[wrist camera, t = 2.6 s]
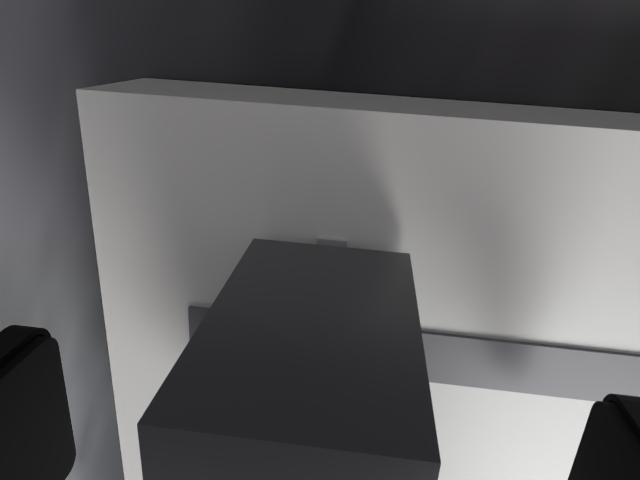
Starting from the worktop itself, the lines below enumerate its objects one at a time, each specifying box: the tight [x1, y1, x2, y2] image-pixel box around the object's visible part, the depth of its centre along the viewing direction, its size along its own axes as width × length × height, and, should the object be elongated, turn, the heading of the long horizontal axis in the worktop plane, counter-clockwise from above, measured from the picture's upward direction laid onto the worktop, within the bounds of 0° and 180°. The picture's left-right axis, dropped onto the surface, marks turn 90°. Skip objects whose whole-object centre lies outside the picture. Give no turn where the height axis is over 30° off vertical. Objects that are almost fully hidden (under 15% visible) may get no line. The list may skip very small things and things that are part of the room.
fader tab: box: [137, 238, 441, 480], centre depth 8 cm, size 5×3×5 cm, turn 177°
